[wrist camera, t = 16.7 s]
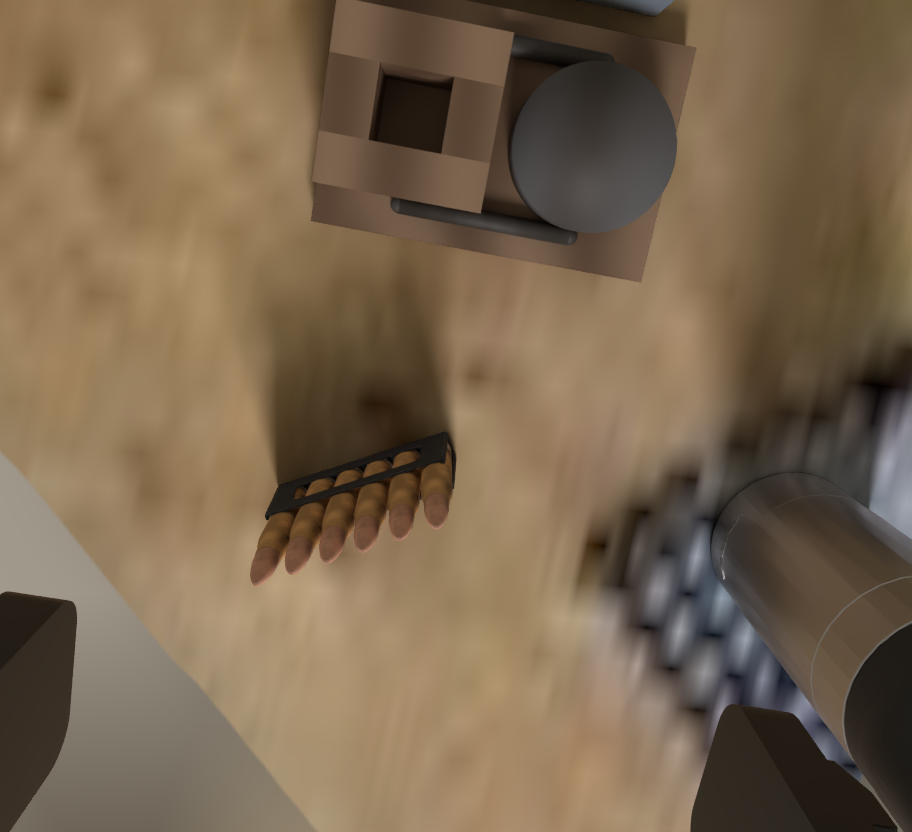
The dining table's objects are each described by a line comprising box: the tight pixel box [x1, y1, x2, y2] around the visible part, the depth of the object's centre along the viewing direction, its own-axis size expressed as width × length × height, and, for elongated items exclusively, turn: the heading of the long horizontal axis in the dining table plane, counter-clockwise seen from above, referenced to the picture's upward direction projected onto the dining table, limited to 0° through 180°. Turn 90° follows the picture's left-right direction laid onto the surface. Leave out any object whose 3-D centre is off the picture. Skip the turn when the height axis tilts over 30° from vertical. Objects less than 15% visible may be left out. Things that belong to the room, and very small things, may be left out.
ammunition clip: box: [250, 432, 456, 586], centre depth 44 cm, size 11×2×12 cm, turn 108°
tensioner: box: [311, 0, 696, 282], centre depth 41 cm, size 18×12×7 cm, turn 80°
